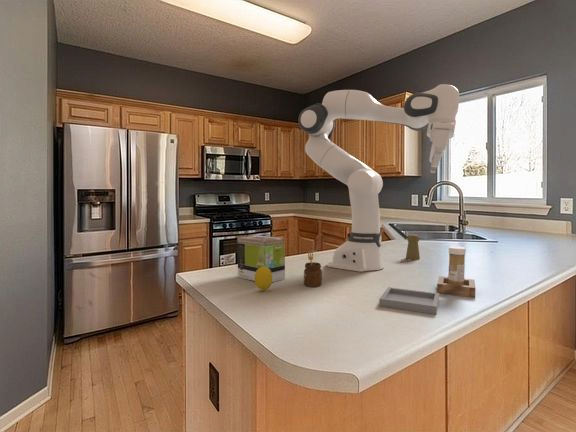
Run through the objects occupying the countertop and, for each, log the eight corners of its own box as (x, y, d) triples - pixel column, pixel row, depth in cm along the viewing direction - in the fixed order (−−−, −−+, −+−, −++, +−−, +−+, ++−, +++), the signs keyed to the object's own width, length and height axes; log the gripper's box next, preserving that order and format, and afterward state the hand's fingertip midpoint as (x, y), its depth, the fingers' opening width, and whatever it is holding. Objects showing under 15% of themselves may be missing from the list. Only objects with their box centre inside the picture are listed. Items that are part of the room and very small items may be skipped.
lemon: (254, 288, 106) (254, 264, 106) (272, 288, 107) (271, 263, 106) (254, 294, 101) (254, 268, 100) (272, 293, 101) (272, 267, 101)
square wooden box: (437, 292, 100) (437, 283, 100) (439, 284, 109) (439, 276, 109) (475, 297, 96) (475, 287, 95) (474, 288, 104) (474, 279, 104)
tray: (379, 306, 89) (379, 298, 89) (388, 293, 100) (388, 287, 100) (436, 314, 83) (436, 306, 83) (439, 300, 94) (439, 293, 93)
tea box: (286, 279, 118) (285, 237, 117) (265, 285, 111) (264, 240, 109) (257, 272, 128) (257, 234, 127) (236, 277, 121) (236, 236, 120)
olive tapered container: (421, 260, 147) (421, 235, 146) (406, 259, 148) (407, 235, 147) (418, 257, 153) (419, 233, 152) (404, 257, 154) (405, 233, 153)
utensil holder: (323, 283, 112) (323, 247, 111) (319, 288, 106) (319, 251, 105) (306, 281, 114) (306, 246, 113) (301, 286, 108) (301, 250, 107)
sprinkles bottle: (444, 289, 104) (445, 246, 103) (457, 288, 105) (458, 245, 104) (454, 293, 100) (455, 248, 99) (467, 292, 100) (469, 248, 99)
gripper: (429, 139, 130) (423, 174, 129) (433, 121, 110) (426, 162, 110) (446, 140, 128) (440, 175, 127) (454, 122, 108) (447, 164, 108)
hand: (434, 169), depth 119 cm, fingers open, 8 cm apart
